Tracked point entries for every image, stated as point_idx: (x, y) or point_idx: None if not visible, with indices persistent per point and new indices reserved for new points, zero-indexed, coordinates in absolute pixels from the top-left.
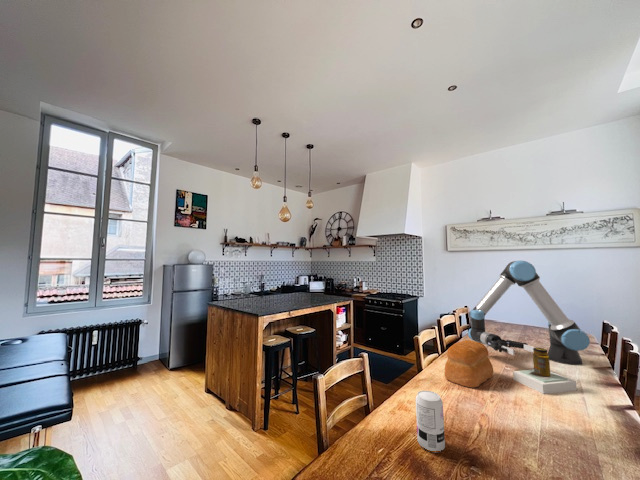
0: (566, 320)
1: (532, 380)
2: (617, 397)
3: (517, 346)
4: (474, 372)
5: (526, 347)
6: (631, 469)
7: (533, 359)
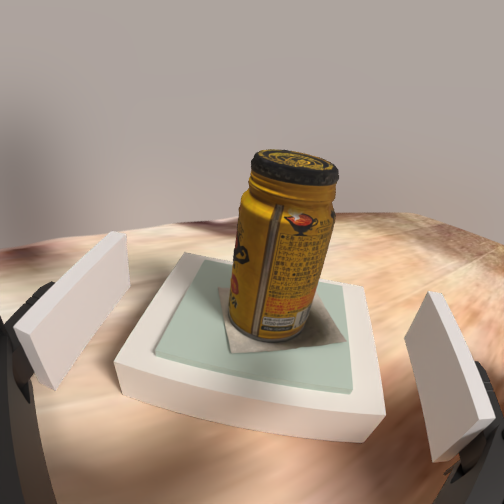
0: None
1: (369, 318)
2: (137, 235)
3: (34, 455)
4: None
5: (67, 329)
6: (409, 213)
7: (322, 255)
